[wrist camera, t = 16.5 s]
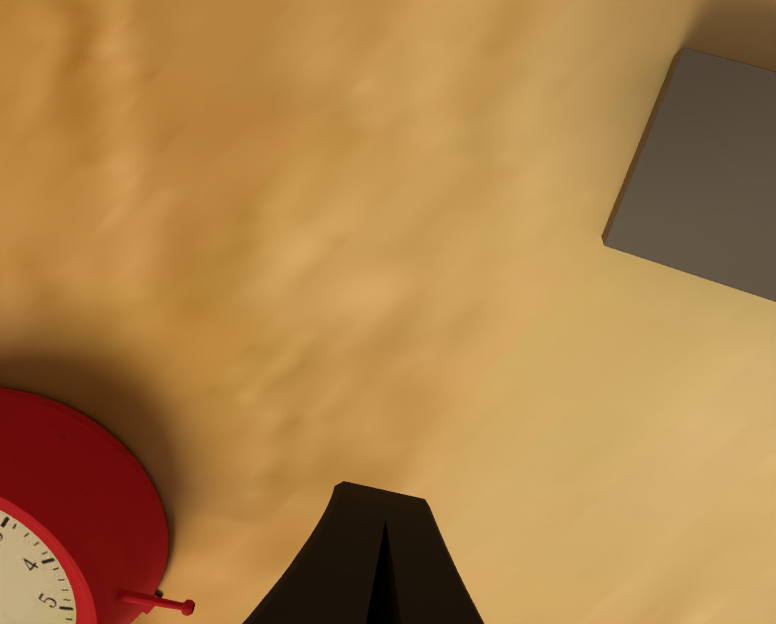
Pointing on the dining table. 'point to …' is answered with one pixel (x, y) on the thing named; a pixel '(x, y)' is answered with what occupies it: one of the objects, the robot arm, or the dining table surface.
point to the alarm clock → (74, 520)
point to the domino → (705, 176)
